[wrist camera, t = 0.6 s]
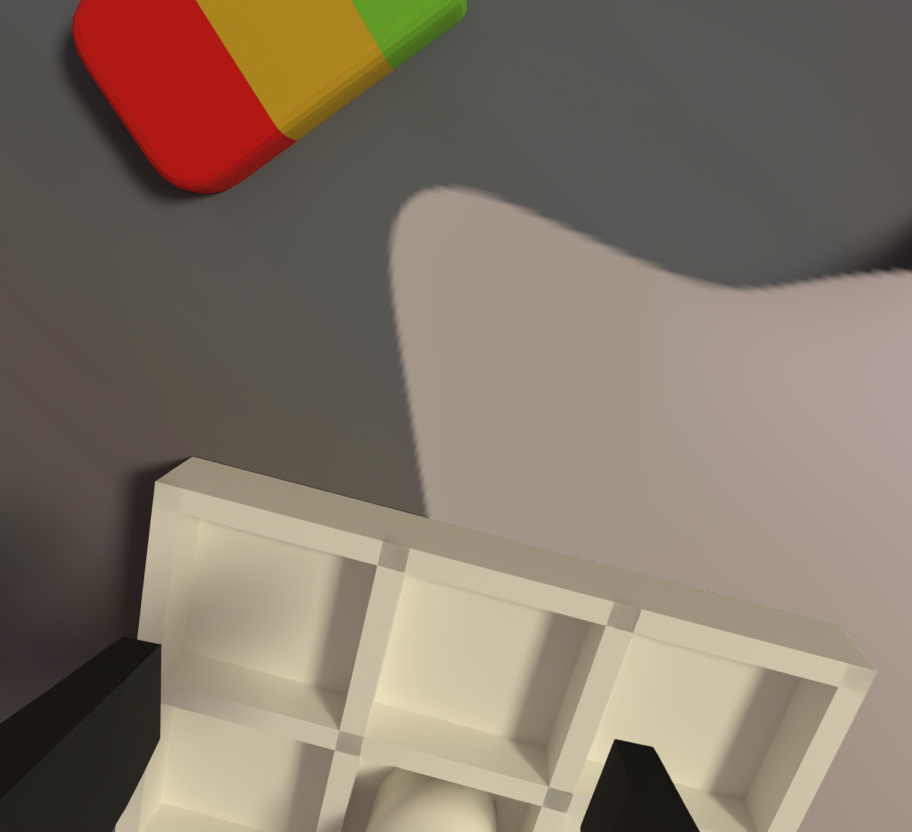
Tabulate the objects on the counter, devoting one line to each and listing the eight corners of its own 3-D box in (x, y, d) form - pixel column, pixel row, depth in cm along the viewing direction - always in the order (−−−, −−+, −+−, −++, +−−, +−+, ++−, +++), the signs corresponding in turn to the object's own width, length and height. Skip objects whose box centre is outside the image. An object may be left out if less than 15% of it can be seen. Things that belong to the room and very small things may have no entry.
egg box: (686, 948, 24) (702, 1015, 22) (147, 799, 25) (112, 852, 22) (839, 626, 20) (877, 671, 18) (192, 456, 21) (155, 481, 18)
